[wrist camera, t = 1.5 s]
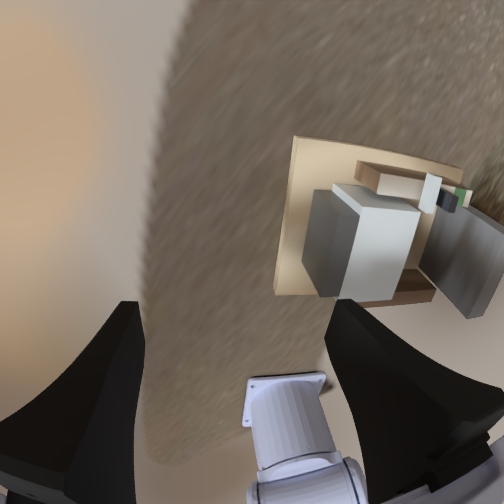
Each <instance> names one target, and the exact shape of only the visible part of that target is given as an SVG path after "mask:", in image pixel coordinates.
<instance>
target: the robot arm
mask: <svg viewBox="0 0 504 504" xmlns="http://www.w3.org/2000/svg"><path fill="white" fill-rule="evenodd" d="M324 339H325V343H326V347H327V351H328V354H329V358H330V361H331V364H332V366H333V368H334V371H335V373H336V375H337V378H338V380H339V383H340V385H341V388H342V390H343V392H344V395H345V397H346V399H347V402H348V404H349V407H350V409H351V412H352V415H353V419H354V422H355V426H356V430H357V434H358V438H359V442H360V446H361V451H362V457H363V463H364V469H365V475H366V479H365V476H364V474H363V471H362V469H361V467H360V465H359V463H358V462H357V461H356V460H354V459H352V458H350V457H346V458H343V459H342V456H341V453H340V451H337V450H336V447H335V444H334V441H333V439H332V436H331V433H330V430H329V427H328V424H327V421H326V418H325V415H324V412H323V409H322V406H321V403H320V401H319V398H318V396H319V393H320V391H321V389H322V386H323V384H324V382H325V379H326V377H327V375H326V373H325V372H317V373H308V374H298V375H287V376H275V377H260V378H251V379H249V380H248V384H247V391H246V399H245V406H244V413H243V420H242V425H243V426H244V427H250V426H251V428H252V434H253V440H254V446H255V451H256V457H257V463H258V467H259V469H260V471H259V472H257V476H258V481H254V482H252V483H251V485H250V487H249V488H248V490H247V504H502V502H503V501H504V436H502V437H501V438H499V439H498V440H497V441H495V442H494V443H493V444H491V445H490V446H488V444H487V442H486V441H488V440H489V439H490V436H489V434H488V432H487V431H488V430H489V429H491V428H492V427H493V426H494V425H495V424H496V423H497V422H498V421H499V420H500V419H501V418H502V417H503V416H504V392H503V390H502V389H501V388H498V387H495V386H491V385H488V384H485V383H481V382H478V381H476V380H473V379H471V378H468V377H466V376H463V375H461V374H459V373H457V372H454V371H452V370H451V369H449V368H447V367H445V366H443V365H441V364H439V363H437V362H435V361H434V360H432V359H431V358H429V357H427V356H426V355H424V354H422V353H421V352H419V351H418V350H416V349H414V348H413V347H412V346H411V345H409V344H408V343H407V342H405V341H404V340H402V339H401V338H400V337H399V336H397V335H396V334H394V333H393V332H392V331H391V330H389V329H388V328H387V327H386V326H385V325H383V324H382V323H381V322H380V321H379V320H377V319H376V318H375V317H374V316H373V315H371V314H370V313H369V312H368V311H366V310H365V309H364V308H363V307H362V306H360V305H359V304H358V303H356V302H355V301H354V300H352V299H337V301H336V304H335V307H334V310H333V313H332V316H331V319H330V322H329V325H328V328H327V331H326V334H325V337H324ZM144 356H145V338H144V333H143V327H142V322H141V316H140V310H139V304H138V301H121V302H120V303H119V304H118V306H117V307H116V308H115V310H114V311H113V313H112V314H111V315H110V317H109V318H108V319H107V321H106V322H105V323H104V325H103V326H102V327H101V329H100V330H99V331H98V333H97V334H96V335H95V336H94V338H93V339H92V340H91V341H90V343H89V344H88V345H87V346H86V347H85V349H84V350H83V351H82V352H81V353H80V355H79V356H78V357H77V358H76V359H75V361H74V362H73V363H72V364H71V365H70V366H69V367H68V368H67V369H66V370H65V371H64V372H63V373H62V374H61V375H60V376H59V377H58V378H57V379H56V380H55V381H54V382H53V383H52V384H51V385H50V386H49V387H47V388H46V389H45V390H44V391H43V392H41V393H40V394H39V395H38V396H37V397H36V398H34V400H32V401H31V402H29V403H28V404H26V405H25V406H24V407H22V408H21V409H20V410H18V411H17V412H15V413H14V414H12V415H11V416H9V417H7V418H6V419H4V420H2V421H1V422H0V485H2V486H3V487H5V488H6V489H8V493H7V496H5V495H3V494H1V493H0V504H136V495H135V481H134V424H135V416H136V409H137V403H138V397H139V391H140V385H141V380H142V374H143V368H144Z"/></svg>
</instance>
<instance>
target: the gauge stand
mask: <svg viewBox="0 0 504 504" xmlns="http://www.w3.org/2000/svg"><path fill="white" fill-rule="evenodd" d="M427 173H432V174H435V175H437V176H439V177H441V178H442V182H441V186H440V187H441V188H444V189H446V190H447V191H449V192H451V193H453V194H455V195H456V196H458V197H459V200H458V203H457V207H456V210H455V213H448V212H446V211H445V210H443V209H442V208H440V207H439V206H437V205H435V208H434V212H433V214H429V213H425V212H424V211H422V210H421V209H419V208H418V207H419V203H420V199H421V195H422V191H423V187H424V183H425V179H426V174H427ZM462 175H463V170H462V169H460V168H458V167H455V166H452V165H448V164H445V163H441V162H437V161H433V160H429V159H425V158H421V157H417V156H412V155H408V154H404V153H399V152H394V151H390V150H385V149H380V148H374V147H369V146H364V145H358V144H352V143H346V142H340V141H333V140H326V139H319V138H311V137H303V136H294V139H293V147H292V155H291V163H290V171H289V178H288V186H287V193H286V201H285V208H284V215H283V222H282V229H281V236H280V243H279V250H278V257H277V264H276V270H275V277H274V283H273V289H274V292H275V295H305V294H318V292H317V291H316V289H315V287H314V285H313V283H312V281H311V279H310V277H309V275H308V273H307V271H306V269H305V268H304V266H303V264H302V262H301V260H302V254H303V249H304V244H305V238H306V233H307V227H308V221H309V216H310V210H311V204H312V198H313V192H314V189H315V190H327V191H332V188H333V183H336V184H345V185H354V186H363V187H368V188H369V189H371V190H372V191H374V192H375V193H376V194H379V195H387V196H395V197H399V198H400V199H402V200H403V201H405V202H406V203H408V204H409V205H411V206H412V207H414V208H415V209H417V210H418V211H419V212H421V214H420V217H419V221H418V224H417V228H416V231H415V234H414V238H413V241H412V244H411V247H410V250H409V253H408V256H407V259H406V262H405V265H404V268H403V270H402V273H401V276H400V279H399V281H398V284H397V287H396V289H395V292H394V295H393V297H392V300H381V301H367V302H356V303H358V304H359V305H360V306H362V307H363V308H370V307H382V306H394V305H405V304H415V303H424V302H431V301H432V298H433V296H434V294H435V291H436V288H435V287H434V286H433V285H432V284H431V283H430V282H429V279H430V280H431V281H432V282H433V283H434V284H435V285H436V286H437V287H438V288H439V289H440V290H441V291H442V292H443V293H444V294H445V295H446V296H447V298H448V299H449V300H450V301H451V302H452V303H453V304H454V305H455V306H456V307H457V309H459V311H460V312H461V313H462V314H463V315H464V316H465V318H466V319H470V318H475V317H479V316H483V314H484V312H485V310H486V308H487V306H488V304H489V302H490V300H491V298H492V296H493V294H494V292H495V290H496V288H497V286H498V284H499V282H500V280H501V277H502V275H503V273H504V227H503V226H502V225H500V224H499V223H497V222H496V221H494V220H493V219H491V218H490V217H488V216H487V215H485V214H484V213H482V212H480V211H479V210H477V209H476V208H474V207H472V206H471V205H469V202H470V198H471V195H472V191H471V190H469V189H467V188H465V187H464V186H462V185H460V183H461V179H462Z"/></svg>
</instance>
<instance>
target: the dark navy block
mask: <svg viewBox="0 0 504 504" xmlns="http://www.w3.org/2000/svg"><path fill="white" fill-rule="evenodd" d="M458 200H459V197H458V196H456V195H455V194H453V193H451V192H449V191H447V190H446V189H444V188H441V187H440V190H439V194H438V198H437V201H436V205H437V206H439V207H440V208H442V209H443V210H445V211H446V212H448V213H455V210H456V207H457V203H458Z"/></svg>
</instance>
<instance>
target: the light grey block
mask: <svg viewBox="0 0 504 504" xmlns="http://www.w3.org/2000/svg"><path fill="white" fill-rule="evenodd" d="M441 182H442V178H441V177H439V176H437V175H435V174H432V173H427V174H426V179H425V183H424V187H423V191H422V195H421V199H420V203H419V207H418V208H419V209H421V210H422V211H424V212H425V213H429V214H433V212H434V208H435V205H436V201H437V198H438V194H439V190H440V186H441ZM420 214H421V212H419V211H418V210H417V209H415V208H414V207H412V206H411V205H409V204H408V203H406V202H405V201H403V200H402V199H400V198H399V197H395V196H387V195H379V194H376V193H375V192H374V191H372V190H371V189H369V188H368V187H363V186H354V185H345V184H336V183H333V188H332V191H327V190H315V189H314V192H313V198H312V204H311V210H310V216H309V221H308V227H307V233H306V238H305V244H304V249H303V254H302V260H301V262H302V264H303V266H304V268H305V269H306V271H307V273H308V275H309V277H310V279H311V281H312V283H313V285H314V287H315V289H316V291H317V292H318V294H319V296H320V297H334V299H335V301H337V299H352V300H354V301H355V302H367V301H381V300H392V297H393V295H394V292H395V289H396V287H397V284H398V281H399V279H400V276H401V273H402V270H403V268H404V265H405V262H406V259H407V256H408V253H409V250H410V247H411V244H412V241H413V238H414V234H415V231H416V228H417V224H418V221H419V217H420Z"/></svg>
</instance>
